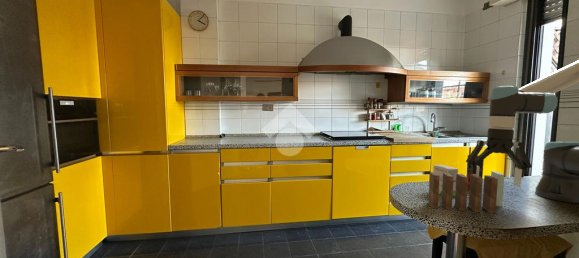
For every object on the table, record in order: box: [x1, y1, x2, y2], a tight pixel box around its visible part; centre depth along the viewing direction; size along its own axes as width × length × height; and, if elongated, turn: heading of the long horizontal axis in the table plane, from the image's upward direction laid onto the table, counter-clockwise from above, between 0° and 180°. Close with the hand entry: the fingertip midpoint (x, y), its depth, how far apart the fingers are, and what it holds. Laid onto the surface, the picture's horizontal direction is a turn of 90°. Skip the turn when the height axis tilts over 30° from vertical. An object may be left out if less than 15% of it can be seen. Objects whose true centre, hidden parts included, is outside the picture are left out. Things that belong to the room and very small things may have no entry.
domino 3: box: [467, 174, 484, 213], centre depth 91 cm, size 2×5×12 cm, turn 167°
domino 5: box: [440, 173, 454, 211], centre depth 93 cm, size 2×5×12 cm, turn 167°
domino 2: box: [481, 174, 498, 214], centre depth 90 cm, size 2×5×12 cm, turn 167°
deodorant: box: [465, 154, 485, 190], centre depth 116 cm, size 6×6×15 cm
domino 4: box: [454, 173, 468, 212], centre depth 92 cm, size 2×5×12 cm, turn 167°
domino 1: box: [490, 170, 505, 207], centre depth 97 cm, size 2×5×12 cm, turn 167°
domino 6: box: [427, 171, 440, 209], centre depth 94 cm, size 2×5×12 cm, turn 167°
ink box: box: [432, 164, 459, 198], centre depth 108 cm, size 9×5×12 cm, turn 12°
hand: (495, 184), depth 96 cm, fingers open, 13 cm apart
